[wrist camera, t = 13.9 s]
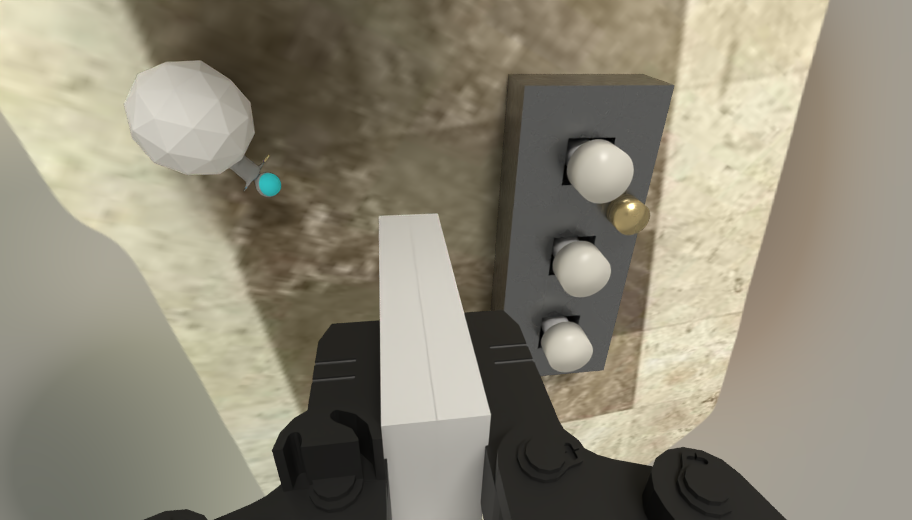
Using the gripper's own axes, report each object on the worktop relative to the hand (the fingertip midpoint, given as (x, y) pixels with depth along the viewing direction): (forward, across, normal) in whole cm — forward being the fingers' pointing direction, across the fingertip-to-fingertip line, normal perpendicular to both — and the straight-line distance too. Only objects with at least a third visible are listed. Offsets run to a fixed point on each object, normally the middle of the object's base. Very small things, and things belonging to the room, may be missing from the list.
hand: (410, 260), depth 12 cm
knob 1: (+29, +16, -24) cm, 41 cm away
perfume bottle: (+30, -13, -4) cm, 33 cm away
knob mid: (+29, +16, -15) cm, 36 cm away
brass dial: (+24, +20, -10) cm, 33 cm away
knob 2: (+29, +16, -6) cm, 33 cm away
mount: (+29, +16, -15) cm, 37 cm away
